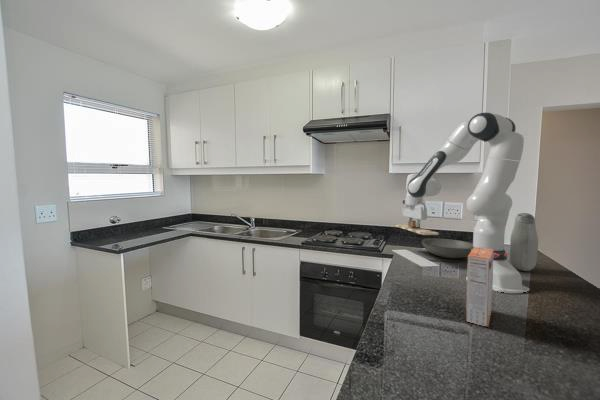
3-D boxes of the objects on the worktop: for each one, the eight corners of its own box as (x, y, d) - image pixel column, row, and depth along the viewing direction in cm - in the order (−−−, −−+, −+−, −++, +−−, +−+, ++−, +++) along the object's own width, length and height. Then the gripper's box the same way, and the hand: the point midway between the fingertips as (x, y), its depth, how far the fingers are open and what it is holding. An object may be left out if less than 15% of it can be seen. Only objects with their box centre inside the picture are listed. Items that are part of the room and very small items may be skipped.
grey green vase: (540, 274, 125) (543, 214, 124) (514, 272, 129) (516, 213, 127) (530, 268, 135) (533, 212, 133) (505, 266, 138) (508, 211, 136)
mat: (439, 266, 137) (439, 265, 137) (421, 267, 136) (421, 266, 136) (406, 250, 171) (406, 249, 171) (391, 250, 170) (391, 249, 170)
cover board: (438, 234, 137) (439, 225, 136) (423, 235, 136) (424, 225, 135) (405, 225, 169) (405, 217, 169) (393, 225, 168) (393, 217, 168)
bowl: (474, 267, 137) (475, 251, 136) (416, 257, 154) (416, 243, 153) (478, 255, 159) (479, 241, 158) (427, 248, 175) (427, 236, 175)
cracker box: (470, 306, 93) (473, 246, 92) (492, 311, 89) (495, 249, 88) (464, 322, 82) (466, 254, 81) (488, 329, 78) (491, 258, 77)
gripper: (430, 202, 142) (430, 228, 142) (410, 200, 162) (410, 223, 163) (419, 202, 141) (418, 229, 142) (400, 200, 161) (400, 223, 162)
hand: (414, 226), depth 152 cm, fingers closed on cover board, 4 cm apart
